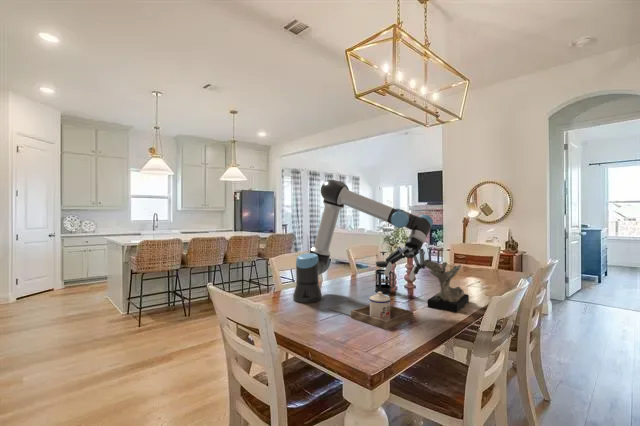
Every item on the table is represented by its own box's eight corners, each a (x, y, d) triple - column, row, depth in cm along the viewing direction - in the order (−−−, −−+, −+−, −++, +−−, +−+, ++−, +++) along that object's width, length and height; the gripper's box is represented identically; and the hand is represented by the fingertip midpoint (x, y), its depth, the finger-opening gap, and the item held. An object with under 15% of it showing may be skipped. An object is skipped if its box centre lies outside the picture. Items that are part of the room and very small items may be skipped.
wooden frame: (350, 317, 141) (350, 310, 141) (378, 308, 154) (378, 302, 154) (386, 329, 127) (386, 321, 127) (413, 318, 140) (413, 311, 140)
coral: (454, 314, 145) (454, 266, 145) (411, 306, 158) (411, 262, 158) (470, 302, 164) (470, 260, 164) (430, 295, 177) (430, 256, 177)
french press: (371, 291, 185) (370, 251, 185) (378, 288, 193) (378, 250, 192) (389, 295, 178) (389, 253, 178) (397, 291, 185) (397, 251, 185)
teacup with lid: (383, 324, 133) (382, 296, 133) (365, 319, 140) (365, 292, 139) (398, 317, 142) (398, 290, 142) (380, 312, 148) (380, 287, 148)
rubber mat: (327, 308, 154) (327, 307, 154) (349, 302, 164) (349, 301, 164) (350, 316, 143) (350, 315, 143) (372, 309, 153) (372, 308, 153)
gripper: (442, 248, 150) (425, 286, 140) (397, 244, 169) (379, 277, 159) (436, 237, 146) (418, 275, 136) (390, 235, 165) (372, 268, 155)
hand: (397, 276), depth 148 cm, fingers open, 13 cm apart
